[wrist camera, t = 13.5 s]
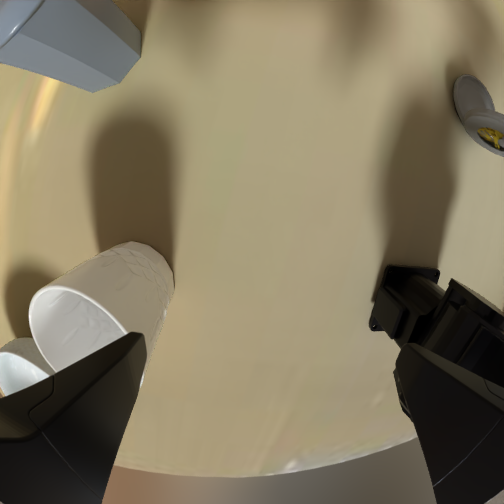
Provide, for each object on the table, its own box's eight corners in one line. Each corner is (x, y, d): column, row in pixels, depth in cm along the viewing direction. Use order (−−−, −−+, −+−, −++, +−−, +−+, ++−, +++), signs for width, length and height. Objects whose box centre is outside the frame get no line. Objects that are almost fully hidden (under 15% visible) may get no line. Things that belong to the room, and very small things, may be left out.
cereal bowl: (122, 433, 29) (109, 470, 22) (29, 382, 27) (9, 411, 20) (133, 361, 24) (110, 410, 17) (16, 295, 22) (-21, 324, 15)
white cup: (110, 218, 20) (29, 258, 10) (196, 259, 21) (160, 333, 11) (91, 295, 22) (30, 358, 12) (165, 333, 23) (130, 416, 13)
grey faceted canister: (109, 17, 14) (33, -47, 2) (157, 39, 15) (85, -48, 3) (63, 74, 15) (-36, 44, 3) (105, 103, 17) (-9, 69, 5)
